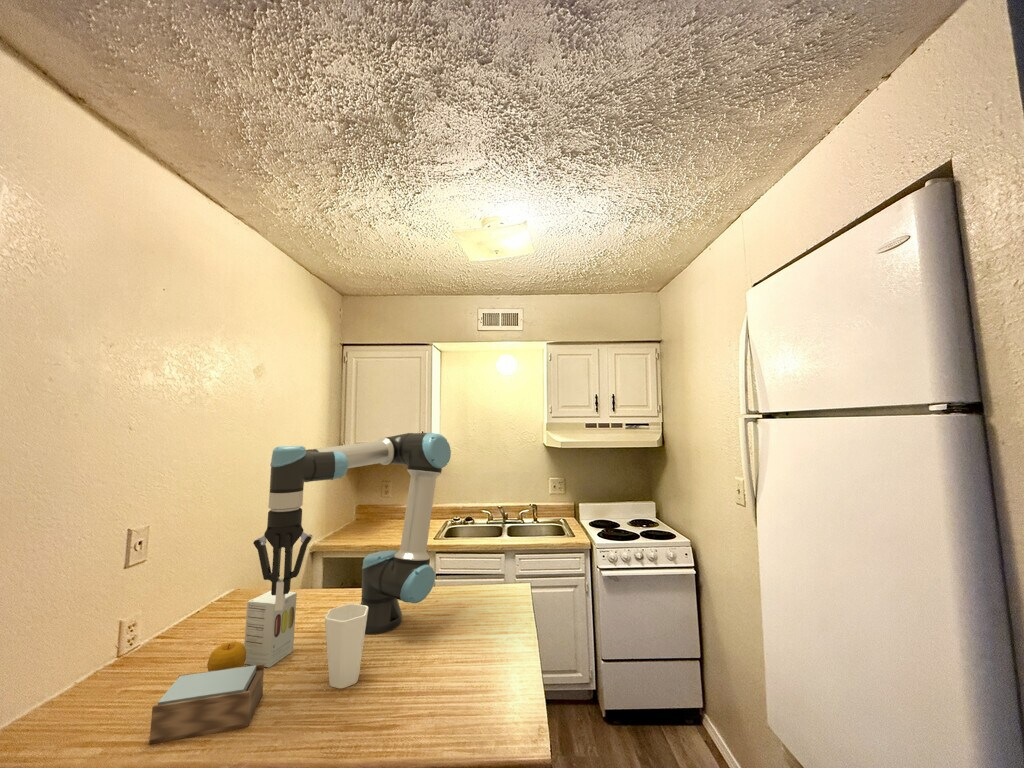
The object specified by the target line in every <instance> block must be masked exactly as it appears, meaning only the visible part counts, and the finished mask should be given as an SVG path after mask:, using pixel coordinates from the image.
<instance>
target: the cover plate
mask: <svg viewBox="0 0 1024 768" xmlns="http://www.w3.org/2000/svg"><path fill="white" fill-rule="evenodd" d="M247 666H248V667H241V668H234V669H226V670H219V671H212V672H207V671H204V672H205V673H200V672H197V673H198V674H193V673H190V674H191V675H185V674H183V675H184V676H179V675H178V676H179V678H178V677H177V679H176V680H175V681H174V682H173V684H172V685H171V686H170V687H169V688H168V689H167V691H166V692H165V693H164V695H163V696H162V697H161V698H160V699H159V700H158V701H157V705H161V704H167V703H174V702H180V701H187V700H193V699H200V698H206V697H213V696H219V695H225V694H232V693H238V692H245V691H246V690H247V688H248V686H249V684H250V682H251V680H252V678H253V677H254V675H255V673H256V665H255V666H250V665H247Z"/></svg>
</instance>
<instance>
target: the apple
mask: <svg viewBox="0 0 1024 768" xmlns="http://www.w3.org/2000/svg"><path fill="white" fill-rule="evenodd" d="M245 660H246V649H245V646H244V643H242V642H241V641H230V642H226V643H223V644H221V645H219V646H218V647H216V648H215V649H213V651H212V652H211V654H210V655H209V657H208V660H207V664H206V666H207V671H214V670H221V669H228V668H235V667H243V666H245V664H244V663H245Z"/></svg>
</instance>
